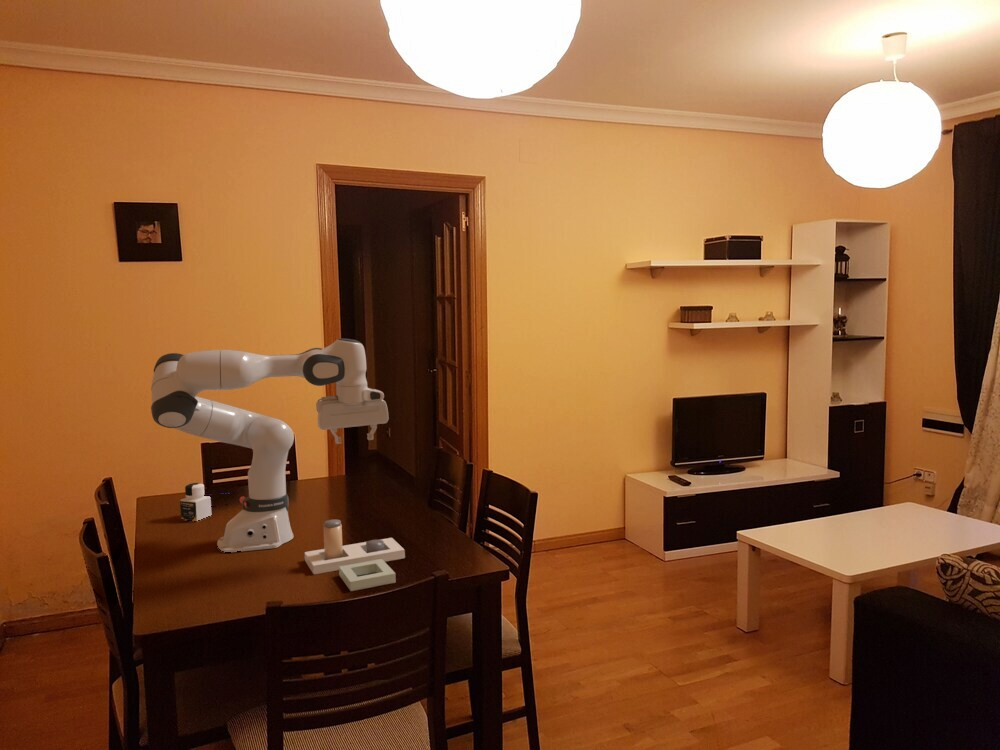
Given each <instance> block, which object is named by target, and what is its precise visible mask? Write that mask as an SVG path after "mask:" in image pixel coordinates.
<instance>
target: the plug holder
mask: <svg viewBox="0 0 1000 750" xmlns="http://www.w3.org/2000/svg"><path fill="white" fill-rule="evenodd" d="M338 574H339V577H340V578H341V580H342V581H343V583H344V584H345V585H346V587H347V588H348V590H349V591H350V592H355V591H359V590H364V589H369V588H375V587H379V586H385V585H389V584H395V583H396V582H397V581H396V580H397V578H396V575H397V574H396V572H395V571H394V570H393V569H392V568H391V567H390V565H388V564H387V562H384V561H383V559H379V560H373V561H367V562H362V563H356V564H351V565H345V566H339V570H338Z"/></svg>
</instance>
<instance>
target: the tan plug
mask: <svg viewBox="0 0 1000 750" xmlns="http://www.w3.org/2000/svg"><path fill="white" fill-rule="evenodd" d="M342 528H343V526H342V521H341V520H340V519H337V518H336V519H328V520H325V521H324V522H323V545H324V547H323V549H324V552H325V560H330V559H336V558H342V557H343V548H342V546H343V529H342ZM325 560H324V561H325Z"/></svg>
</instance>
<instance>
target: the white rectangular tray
mask: <svg viewBox="0 0 1000 750" xmlns="http://www.w3.org/2000/svg"><path fill="white" fill-rule="evenodd" d="M342 548H343V557H342V558H336V559H330V560H325V552H324V548H322V549H316V550H315V549H314V550H310V551H305V552H304V561H305V563H306V565H307V566H308V568H309V569H310V571H311V573H312V574H313V575H319V574H324V573H330V572H331V573H332V572H335V571H339V566H345V565H351V564H356V563H362V562H367V561H373V560H379V559H383V561H384V562H385V563H387V562H391V561H397V560H401V559H405V558H406V550H405V549H404V547H402V546H401V545H400V544H399V543H398V542H397V541H396V540H395V539H394V538H393V537H388V538H380V539H371V540H367V541H364V542H358V543H352V544H350V543H349V544H346V545H342Z"/></svg>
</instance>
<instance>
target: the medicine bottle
mask: <svg viewBox="0 0 1000 750" xmlns="http://www.w3.org/2000/svg"><path fill="white" fill-rule="evenodd" d="M184 491H185V494H184V495H185V497H184V498H181V499H180V500H179V506H180V507H179V509H180V520H181V519H185V520H184V521H187V520H192V521H191V522H194V521H197V522H199V521H198V520H200V521H202V520H201V519H203V518H205V519H207V518H206V517H208V516H210V517H212V516H211V515H213V514H212V507H211V506H212V500H211V499H212V498H211V497H210V496H204V495H206V494H205V484H203V483H201V482H193V483H189V484H187V485H186V486H185V487H184ZM208 518H209V517H208ZM203 520H204V519H203Z"/></svg>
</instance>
